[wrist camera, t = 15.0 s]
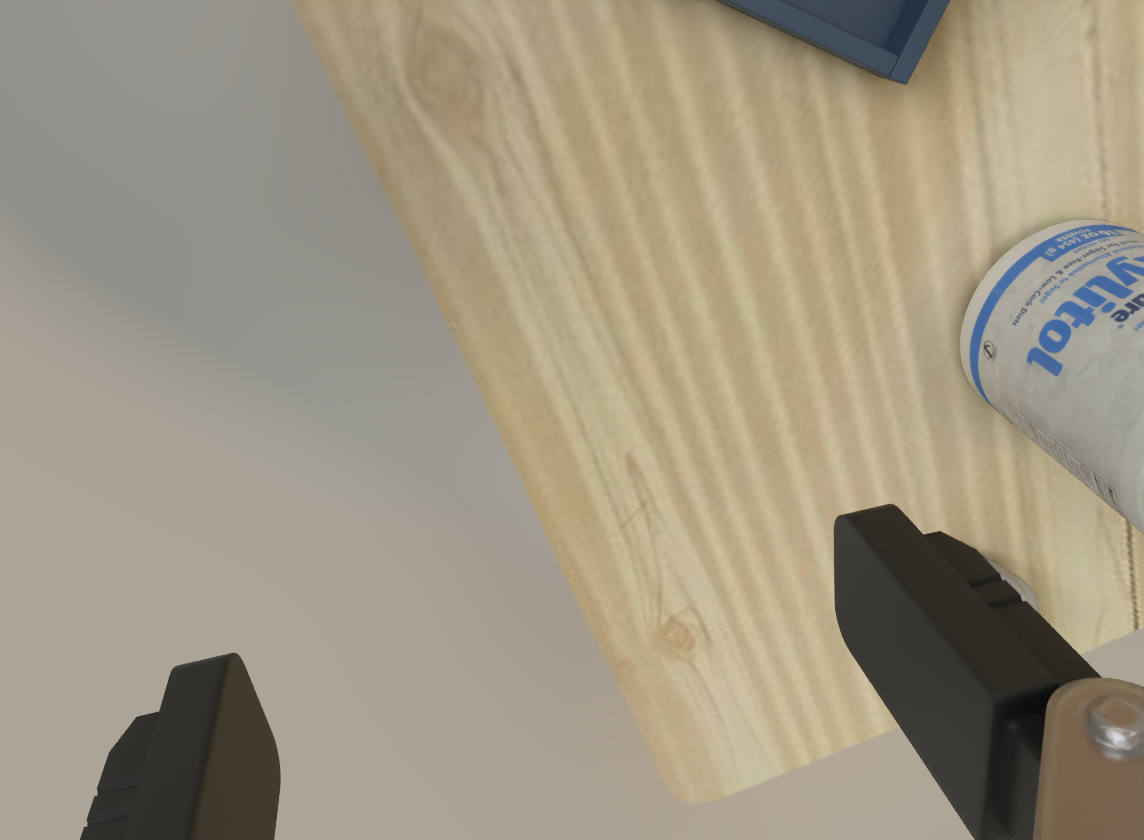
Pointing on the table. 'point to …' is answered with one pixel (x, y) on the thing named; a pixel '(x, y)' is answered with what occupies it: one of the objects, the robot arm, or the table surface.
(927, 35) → the tray
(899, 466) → the table surface
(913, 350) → the table surface
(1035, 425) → the supplement tub
